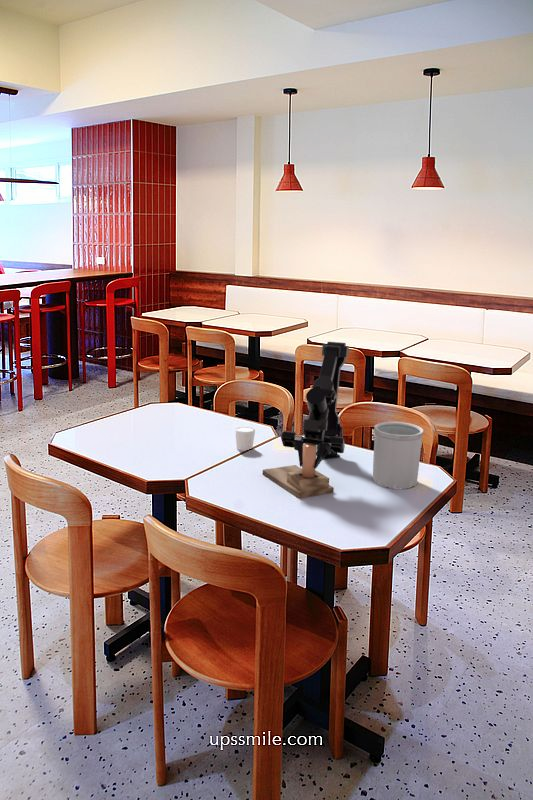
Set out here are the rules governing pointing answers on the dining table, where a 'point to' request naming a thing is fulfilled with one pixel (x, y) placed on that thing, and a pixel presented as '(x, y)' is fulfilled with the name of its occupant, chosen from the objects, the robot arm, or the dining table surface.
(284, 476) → the wooden socket base
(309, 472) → the plug
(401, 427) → the utensil holder
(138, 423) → the dining table surface
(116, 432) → the dining table surface
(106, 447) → the dining table surface
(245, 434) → the white cup
